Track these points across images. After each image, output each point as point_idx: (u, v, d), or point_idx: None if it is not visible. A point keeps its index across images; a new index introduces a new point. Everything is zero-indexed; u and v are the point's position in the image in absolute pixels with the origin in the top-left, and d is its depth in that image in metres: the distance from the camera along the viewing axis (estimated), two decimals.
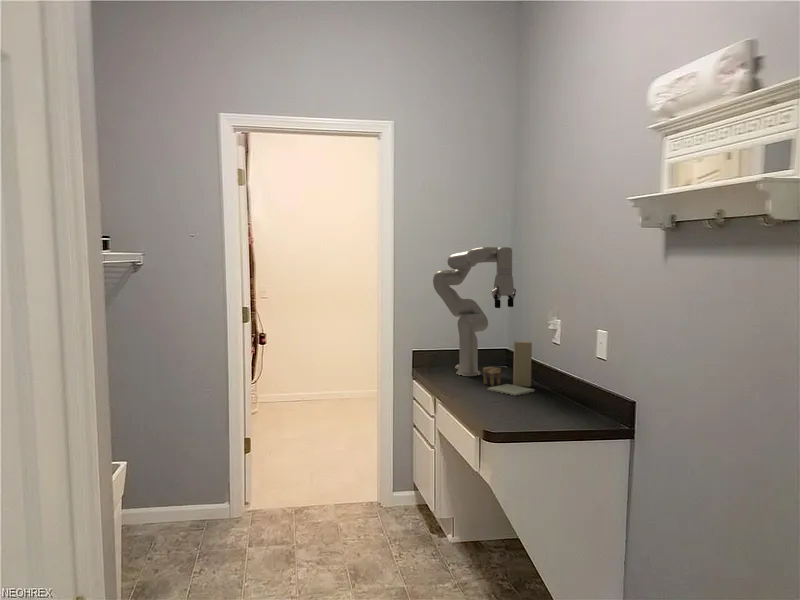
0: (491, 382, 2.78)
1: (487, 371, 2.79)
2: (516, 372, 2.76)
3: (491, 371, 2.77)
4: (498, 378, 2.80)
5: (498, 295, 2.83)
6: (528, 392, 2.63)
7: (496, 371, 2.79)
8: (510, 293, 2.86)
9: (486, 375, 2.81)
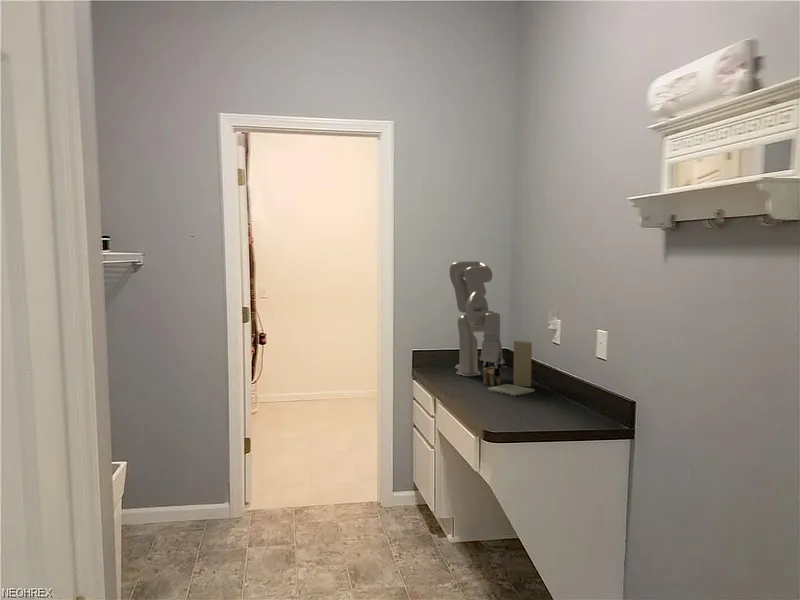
0: (491, 382, 2.78)
1: (487, 371, 2.79)
2: (516, 372, 2.76)
3: (491, 371, 2.77)
4: (498, 378, 2.80)
5: (496, 363, 2.78)
6: (528, 392, 2.63)
7: None
8: None
9: (486, 375, 2.81)
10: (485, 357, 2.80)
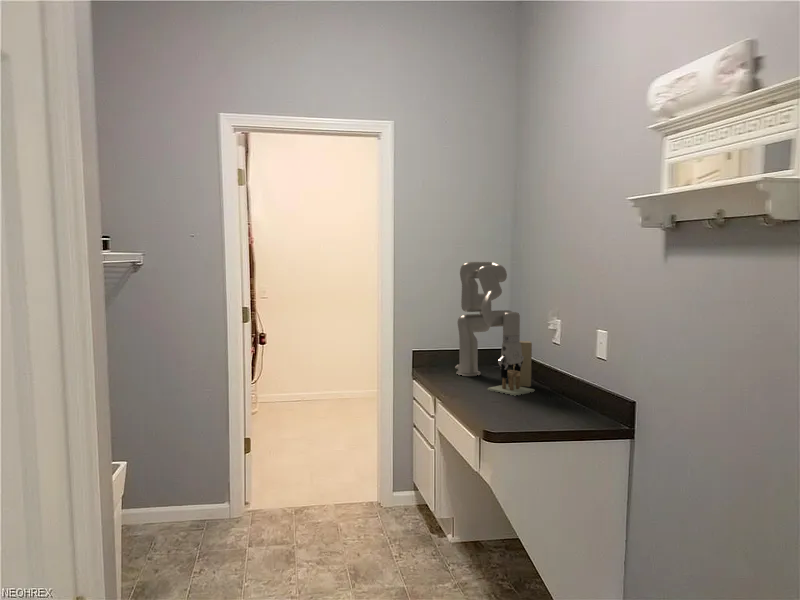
0: (518, 385, 2.67)
1: (516, 375, 2.65)
2: None
3: (519, 373, 2.66)
4: None
5: None
6: (528, 392, 2.63)
7: None
8: None
9: None
10: (513, 360, 2.63)
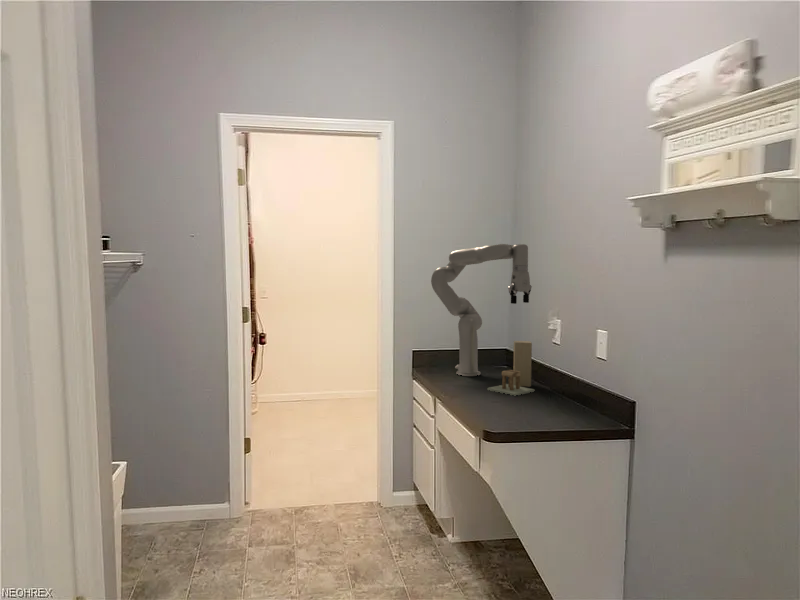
0: (518, 385, 2.67)
1: (516, 375, 2.65)
2: None
3: (519, 373, 2.66)
4: None
5: (525, 290, 2.96)
6: (528, 392, 2.63)
7: None
8: None
9: None
10: (522, 287, 2.90)
